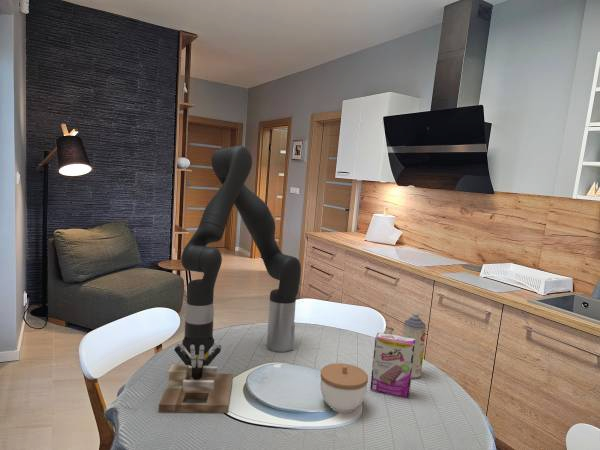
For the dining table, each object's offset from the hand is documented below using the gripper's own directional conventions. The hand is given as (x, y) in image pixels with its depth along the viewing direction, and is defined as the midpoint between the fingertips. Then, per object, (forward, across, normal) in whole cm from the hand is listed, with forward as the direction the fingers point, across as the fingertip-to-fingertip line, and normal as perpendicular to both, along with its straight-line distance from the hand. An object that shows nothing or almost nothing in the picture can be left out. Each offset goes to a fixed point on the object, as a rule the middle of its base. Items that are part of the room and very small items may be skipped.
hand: (196, 378), depth 114 cm
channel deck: (+3, -1, +3) cm, 4 cm away
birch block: (+1, +5, 0) cm, 5 cm away
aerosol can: (+3, -65, -12) cm, 67 cm away
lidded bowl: (+3, -40, +7) cm, 40 cm away
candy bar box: (+3, -56, -1) cm, 56 cm away
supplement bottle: (+3, +2, -16) cm, 17 cm away
